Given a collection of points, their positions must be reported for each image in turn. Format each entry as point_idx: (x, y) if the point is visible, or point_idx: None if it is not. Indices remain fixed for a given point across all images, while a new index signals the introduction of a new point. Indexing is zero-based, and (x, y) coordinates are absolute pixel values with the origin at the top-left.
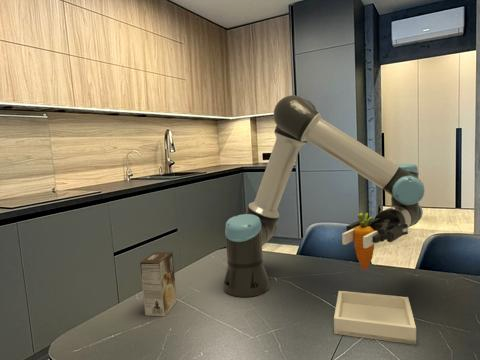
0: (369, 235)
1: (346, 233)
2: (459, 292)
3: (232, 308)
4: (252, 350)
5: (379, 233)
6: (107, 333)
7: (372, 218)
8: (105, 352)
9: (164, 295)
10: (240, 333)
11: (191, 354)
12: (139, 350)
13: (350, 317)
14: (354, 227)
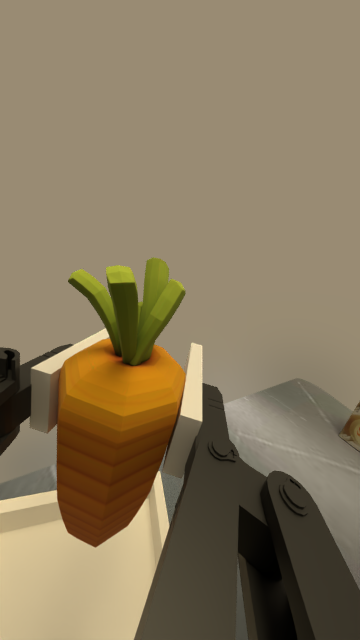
0: (104, 329)
1: (191, 347)
2: None
3: (337, 499)
4: None
5: (18, 381)
6: (317, 399)
7: (79, 281)
8: (286, 384)
9: (354, 419)
10: (254, 435)
11: (249, 396)
12: (277, 390)
13: (129, 591)
14: (212, 442)
